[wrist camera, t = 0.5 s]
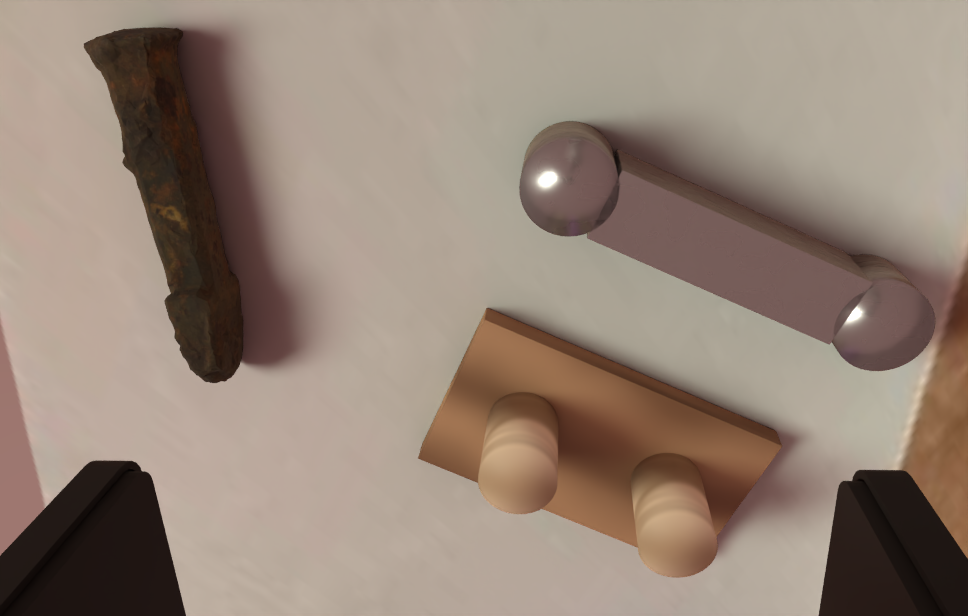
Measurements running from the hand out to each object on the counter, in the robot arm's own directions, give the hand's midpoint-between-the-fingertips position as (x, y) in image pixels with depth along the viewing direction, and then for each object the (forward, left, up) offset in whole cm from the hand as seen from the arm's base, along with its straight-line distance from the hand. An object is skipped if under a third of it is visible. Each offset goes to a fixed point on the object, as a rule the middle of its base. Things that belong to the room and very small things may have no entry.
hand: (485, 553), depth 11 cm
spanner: (+2, +11, -32) cm, 34 cm away
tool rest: (+16, +11, -32) cm, 37 cm away
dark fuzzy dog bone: (+12, -14, -32) cm, 37 cm away
